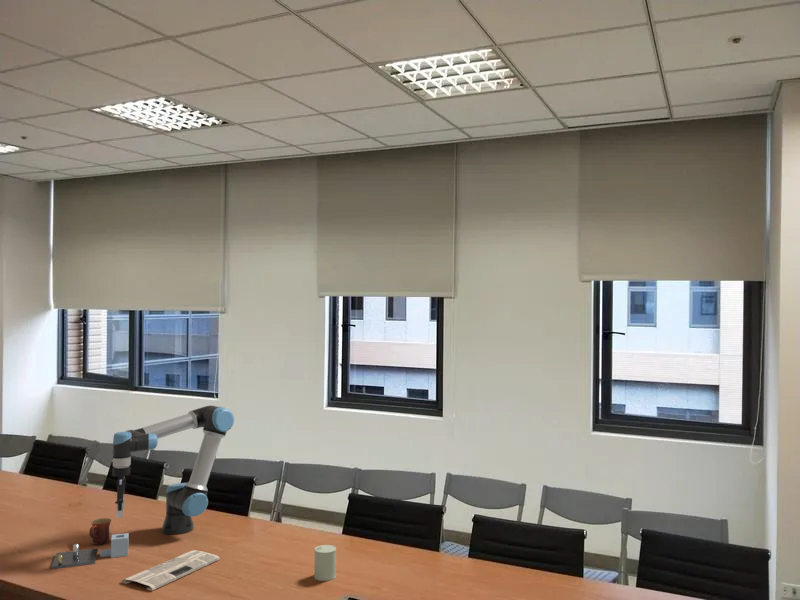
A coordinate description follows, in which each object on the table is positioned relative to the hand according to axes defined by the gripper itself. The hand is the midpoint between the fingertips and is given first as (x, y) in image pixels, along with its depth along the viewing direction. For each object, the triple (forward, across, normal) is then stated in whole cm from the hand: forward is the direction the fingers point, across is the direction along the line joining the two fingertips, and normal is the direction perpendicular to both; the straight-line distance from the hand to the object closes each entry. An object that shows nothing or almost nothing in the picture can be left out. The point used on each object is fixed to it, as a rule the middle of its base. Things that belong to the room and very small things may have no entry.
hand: (120, 513), depth 285 cm
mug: (+19, -18, -10) cm, 28 cm away
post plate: (+18, 0, -18) cm, 26 cm away
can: (+18, +58, +81) cm, 101 cm away
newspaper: (+19, +29, +22) cm, 41 cm away
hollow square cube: (+18, 0, -2) cm, 19 cm away
